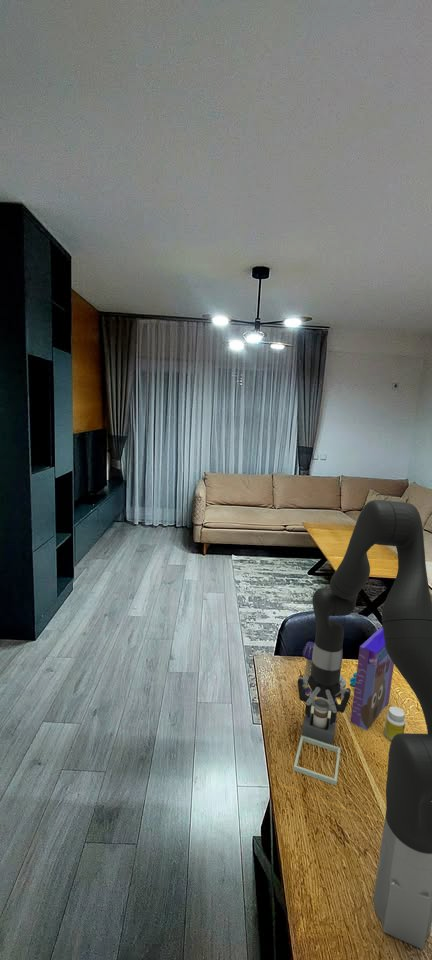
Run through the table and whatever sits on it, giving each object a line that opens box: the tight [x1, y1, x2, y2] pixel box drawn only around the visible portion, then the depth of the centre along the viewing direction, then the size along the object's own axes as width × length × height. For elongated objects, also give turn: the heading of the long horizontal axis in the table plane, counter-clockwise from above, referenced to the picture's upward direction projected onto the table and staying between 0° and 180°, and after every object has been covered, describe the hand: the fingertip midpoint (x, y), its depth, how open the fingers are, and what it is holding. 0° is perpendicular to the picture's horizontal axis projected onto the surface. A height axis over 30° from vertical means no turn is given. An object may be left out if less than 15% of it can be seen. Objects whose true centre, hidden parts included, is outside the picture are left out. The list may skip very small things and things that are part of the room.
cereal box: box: [350, 625, 395, 731], centre depth 122 cm, size 17×5×24 cm, turn 139°
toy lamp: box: [301, 641, 315, 695], centre depth 130 cm, size 5×5×17 cm
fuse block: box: [301, 697, 338, 746], centre depth 116 cm, size 12×8×10 cm, turn 159°
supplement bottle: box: [383, 706, 406, 742], centre depth 114 cm, size 5×5×8 cm
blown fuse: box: [312, 698, 329, 730], centre depth 113 cm, size 4×4×8 cm
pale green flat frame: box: [292, 734, 342, 786], centre depth 104 cm, size 11×10×2 cm
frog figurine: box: [335, 674, 347, 697], centre depth 131 cm, size 6×7×7 cm
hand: (320, 718), depth 113 cm, fingers open, 5 cm apart
